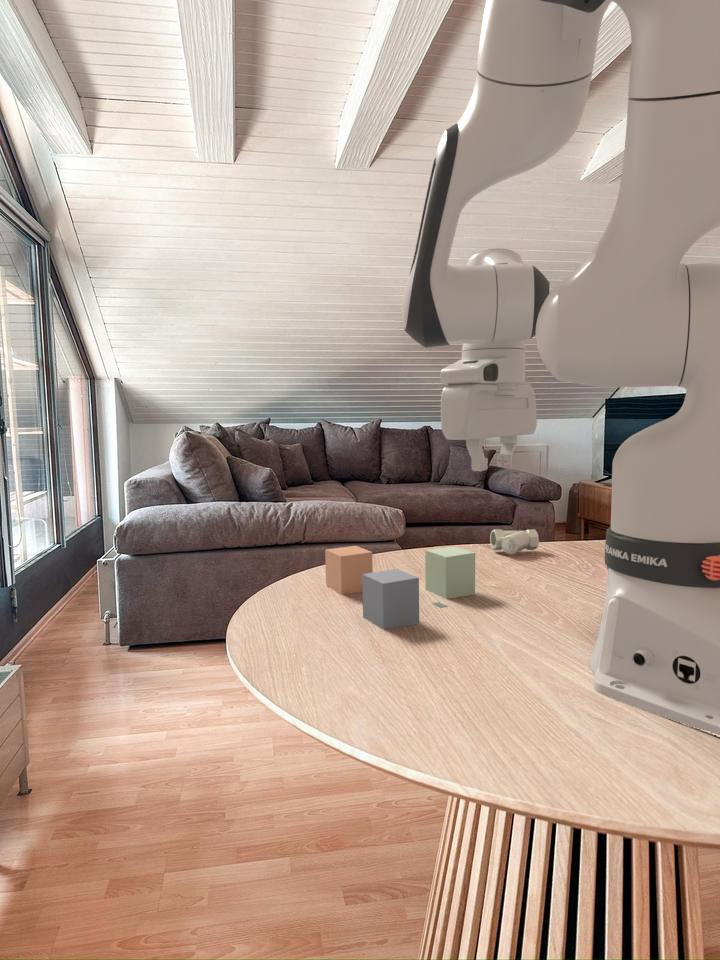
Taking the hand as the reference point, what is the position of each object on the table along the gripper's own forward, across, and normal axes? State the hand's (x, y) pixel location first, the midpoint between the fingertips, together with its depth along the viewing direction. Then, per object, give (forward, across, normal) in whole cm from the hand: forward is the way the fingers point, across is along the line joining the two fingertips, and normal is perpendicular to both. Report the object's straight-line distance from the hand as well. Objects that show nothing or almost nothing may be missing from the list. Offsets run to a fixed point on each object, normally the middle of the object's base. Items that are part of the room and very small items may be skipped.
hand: (492, 468), depth 93 cm
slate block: (+17, +23, 0) cm, 28 cm away
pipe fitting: (+16, -20, -5) cm, 26 cm away
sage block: (+17, +7, -2) cm, 19 cm away
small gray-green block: (+17, +13, 0) cm, 22 cm away
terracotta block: (+17, +16, -14) cm, 27 cm away
